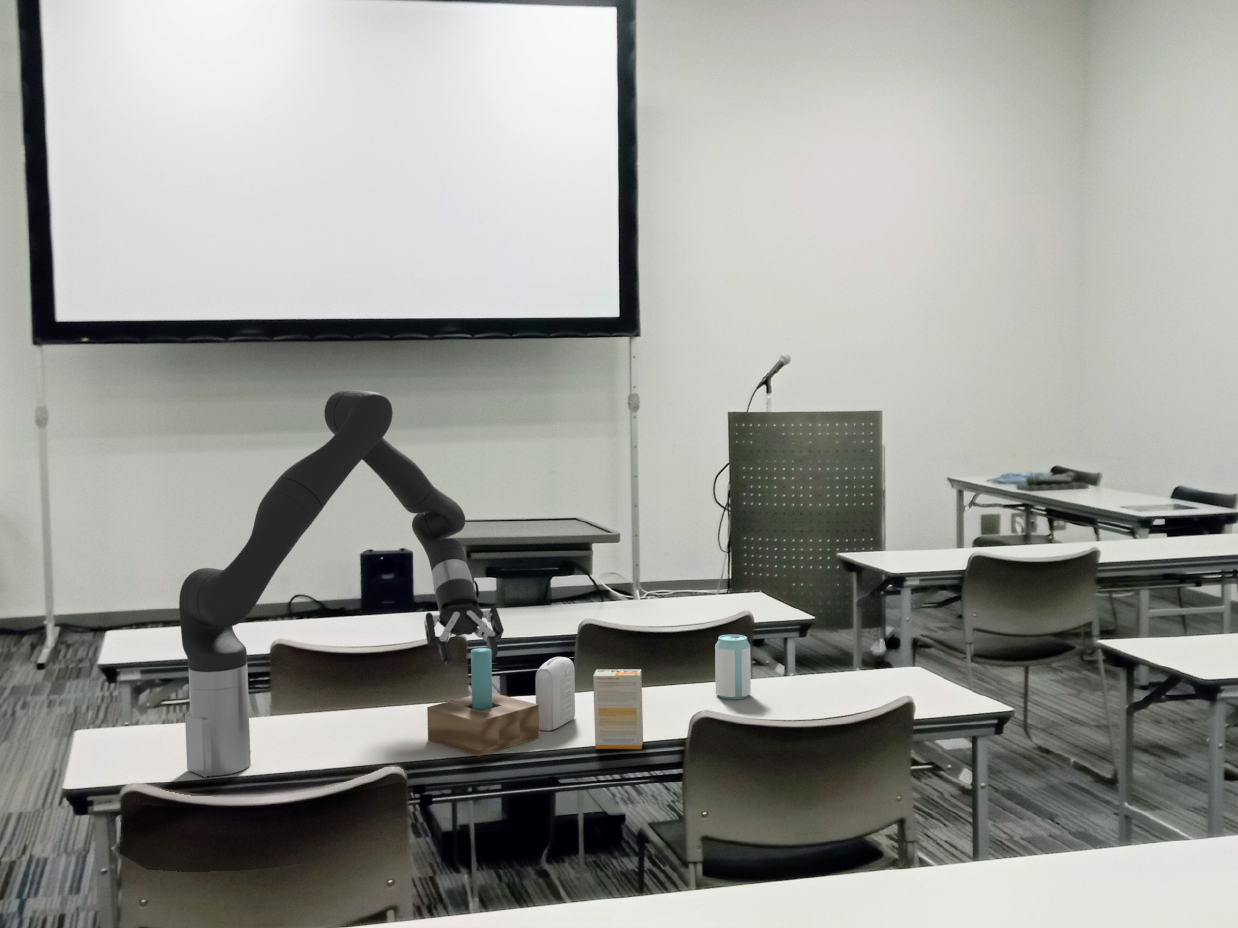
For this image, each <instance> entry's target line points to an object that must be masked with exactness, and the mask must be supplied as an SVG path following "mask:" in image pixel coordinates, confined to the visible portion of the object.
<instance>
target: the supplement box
mask: <svg viewBox="0 0 1238 928" xmlns="http://www.w3.org/2000/svg"><path fill="white" fill-rule="evenodd" d="M642 676H643V675H642V669H641V668H640V669H632V668H631V669H629V668H628V669H623V668H621V669H605V668H604V669H600V668H599V669H598V668H597V669H596V670H595V672H594V674H593V676H592V677H593V679H592V680H593V682H592V683H593V710H594V711H593V713H594V714H593V715H594V719H593V720H594V745H595V749H596V750H599V749H600V750H642V748H643V743H644V721H643V720H644V717H643V715H644V714H643V685H642V684H643V683H642V681H643V679H642V678H643V677H642Z"/></svg>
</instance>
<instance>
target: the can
mask: <svg viewBox="0 0 1238 928" xmlns="http://www.w3.org/2000/svg"><path fill="white" fill-rule="evenodd" d="M717 639H718V640H717V642H716V643H715V646H714V650H715V652H714V654H715V657H714V658H715V663H714V664H715V667H714V668H715V669H714V670H715V671H714V673H715V680H714V681H715V694H716V695H717V696H719V697H720V698H722V699H725V700H742V699H743V700H744V699H745V698H747V697H748V696H749V695H751V692H752V691H751V690H752V689H751V684H752V683H751V682H752V681H751V679H752V678H751V674H752V673H751V644H750V643H749V641H748V636H745V635H744V634H743V635H742V634H722V635H719V636H718V638H717Z"/></svg>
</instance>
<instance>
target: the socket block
mask: <svg viewBox="0 0 1238 928" xmlns="http://www.w3.org/2000/svg"><path fill="white" fill-rule="evenodd" d="M426 708H427V712H426V713H427V714H426V715H427V741H429V742H432V743H436V744H438V745H441V746H445V747H448V748H452V749H454V750H458V751H461V752H464V753H467V754H471V755H473V756H476V757H481V756H485V755H487V754H491V753H494V752H497V751H500V750H504V749H507V748H510V747H511V748H512V747H513V746H517V745H520V744H524V743H527V742H529V741H532V740H537V739H539V738H540V729H539V705H538V704H536V703H533V702H530V701H525V700H521V699H518V698H514V697H511V696H507V695H502V694H499V693H494V692H492V708H491V709H487V710H484V711H479V710H476V709H472V695H469V696H465V697H461V698H458V699H453V700H450V701H445V702H442V703H439V704H438V703H437V704H434V705H431V706H427V707H426Z"/></svg>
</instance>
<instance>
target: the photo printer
mask: <svg viewBox="0 0 1238 928" xmlns="http://www.w3.org/2000/svg"><path fill="white" fill-rule="evenodd" d="M575 683H576V681H575V665H574V662H573V661H572V660H571V659H570V658H568V657H565V656H555V657H552V658H550V659H548V660H547V661H546V662H544V663H543V664H542V665H541V666H540V667H539V668H538V670H537V671H536V673H535V704H538V705H539V731H540V730H541V731H544V732H545V731H547V732H549V731H552V730H556V729H558V728H560V727H562V726H563V725H566V724H568V722H571V721H572V720H573V719H574V718H575V716H576V699H575V698H576V697H575V696H576V695H575V694H576V693H575V692H576V687H575V685H576V684H575Z"/></svg>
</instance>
